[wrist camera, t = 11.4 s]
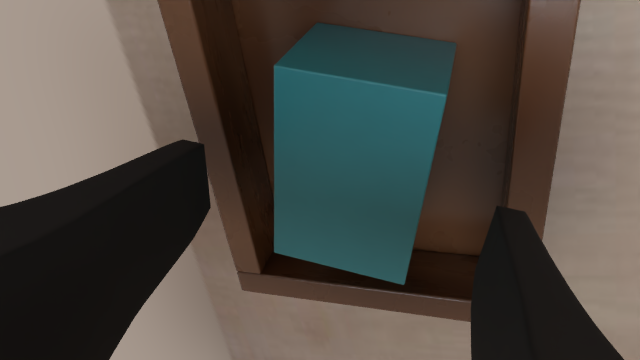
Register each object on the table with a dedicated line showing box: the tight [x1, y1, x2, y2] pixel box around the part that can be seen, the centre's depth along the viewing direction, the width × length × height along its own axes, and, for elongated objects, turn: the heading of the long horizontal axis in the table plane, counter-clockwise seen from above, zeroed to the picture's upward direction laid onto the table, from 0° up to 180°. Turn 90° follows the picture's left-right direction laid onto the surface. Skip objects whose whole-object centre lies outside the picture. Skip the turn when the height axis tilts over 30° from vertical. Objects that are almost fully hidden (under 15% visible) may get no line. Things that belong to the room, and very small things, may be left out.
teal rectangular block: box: [274, 23, 457, 285], centre depth 14 cm, size 4×6×4 cm, turn 177°
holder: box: [158, 0, 581, 322], centre depth 15 cm, size 12×10×3 cm
